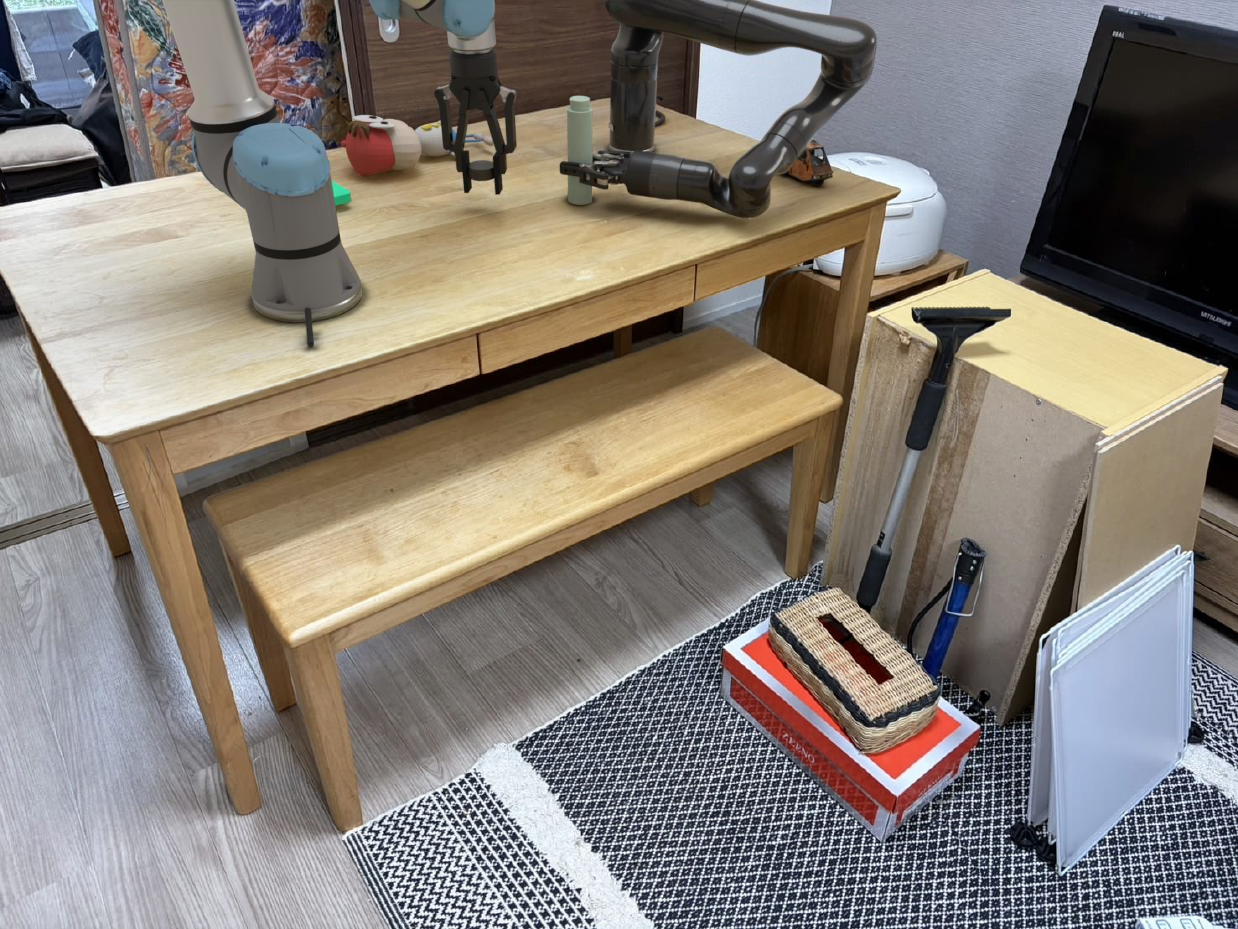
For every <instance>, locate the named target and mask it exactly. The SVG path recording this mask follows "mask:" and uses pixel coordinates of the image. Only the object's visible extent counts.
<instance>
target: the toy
mask: <svg viewBox="0 0 1238 929" xmlns="http://www.w3.org/2000/svg"><path fill="white" fill-rule="evenodd" d="M352 119H353V120H352V121H350V122H349V123H348V125H347V134H346V138H345V139H344V140H342V141H341V142H340V145H341V147H342V148H344V149H345V152H346V156H347V158H348V161H349V163H350V164H351V167H352V168H353V170H354V172H355V173H356V174H357V175H360V176H371V175H376V174H377V175H378V174H381V173H384V172H387V171H390V170H392V171H404V170H409V169H411V168H413V167H414V166H415V165H416V164H417V163H418V162H419V160H420V158H421V155H425V156H428V157H429V156H430V157H443V156H446V155H449V154H450V156H451V157H453V158H455V154H454V152H452V151H450V150H445V149H444V148H443V141H442V131H441V121H440V120H438V121H436V122H431V123H426V124H423V125H420V126H418V127H417V128H416V129H414V128H412V127H411V126H410V123H407V122H406V121H402V120H399V119H397V118H385V119H384V118H382V117H380V116H378V115H377V116H376V115H370V114H360V115H355V116H353V117H352ZM452 131H453V141H454V142H455V140H456V133H457V131H456V130H454V129H453V128H452ZM466 138H473V139H465V144H467V143H468V144H469V143H478V142H483V144H485V145H487V146H489V147H492V146H494V143H493V140H492V137H490V136H484V135H483V134H482V133H481V132H479V131H475V132H473V133H471V134H466Z"/></svg>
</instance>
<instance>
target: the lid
mask: <svg viewBox="0 0 1238 929" xmlns="http://www.w3.org/2000/svg"><path fill="white" fill-rule="evenodd" d="M468 177H469V178H470V179H471V181H477V182H487V181H491V180H494V169H493V160H488V159H487V160H485V159H480V160H474V161H473V160H472V161H470V163H469V164H468Z"/></svg>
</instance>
